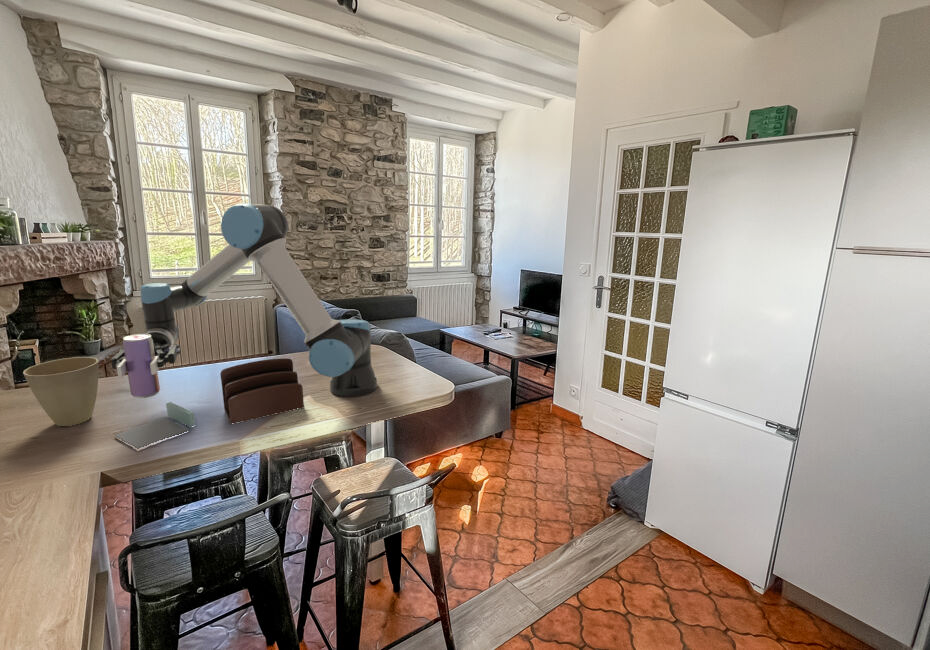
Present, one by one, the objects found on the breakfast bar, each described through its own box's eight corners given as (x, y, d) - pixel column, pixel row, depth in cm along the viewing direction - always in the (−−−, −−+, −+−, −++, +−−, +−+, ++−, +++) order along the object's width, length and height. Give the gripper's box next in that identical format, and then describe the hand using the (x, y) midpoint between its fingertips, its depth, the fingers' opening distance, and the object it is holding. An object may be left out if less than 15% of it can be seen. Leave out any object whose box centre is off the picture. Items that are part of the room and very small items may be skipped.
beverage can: (146, 399, 110) (137, 340, 106) (125, 397, 111) (115, 339, 107) (166, 390, 116) (158, 334, 112) (145, 388, 117) (137, 332, 113)
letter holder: (224, 412, 130) (219, 366, 127) (294, 397, 141) (291, 354, 138) (230, 425, 122) (224, 376, 119) (304, 408, 134) (301, 363, 130)
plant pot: (100, 404, 133) (90, 353, 129) (114, 419, 124) (104, 365, 120) (31, 422, 122) (18, 366, 118) (42, 439, 112) (28, 379, 109)
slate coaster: (189, 431, 118) (189, 429, 118) (137, 451, 108) (137, 448, 108) (166, 420, 124) (165, 417, 124) (115, 437, 114) (114, 435, 114)
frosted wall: (195, 426, 121) (193, 412, 120) (191, 427, 120) (189, 414, 119) (172, 415, 127) (170, 402, 126) (167, 416, 126) (165, 403, 125)
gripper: (195, 353, 132) (184, 380, 111) (117, 360, 124) (89, 391, 104) (192, 328, 130) (180, 351, 110) (112, 334, 123) (83, 360, 102)
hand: (136, 370), depth 107 cm, fingers closed on beverage can, 6 cm apart
